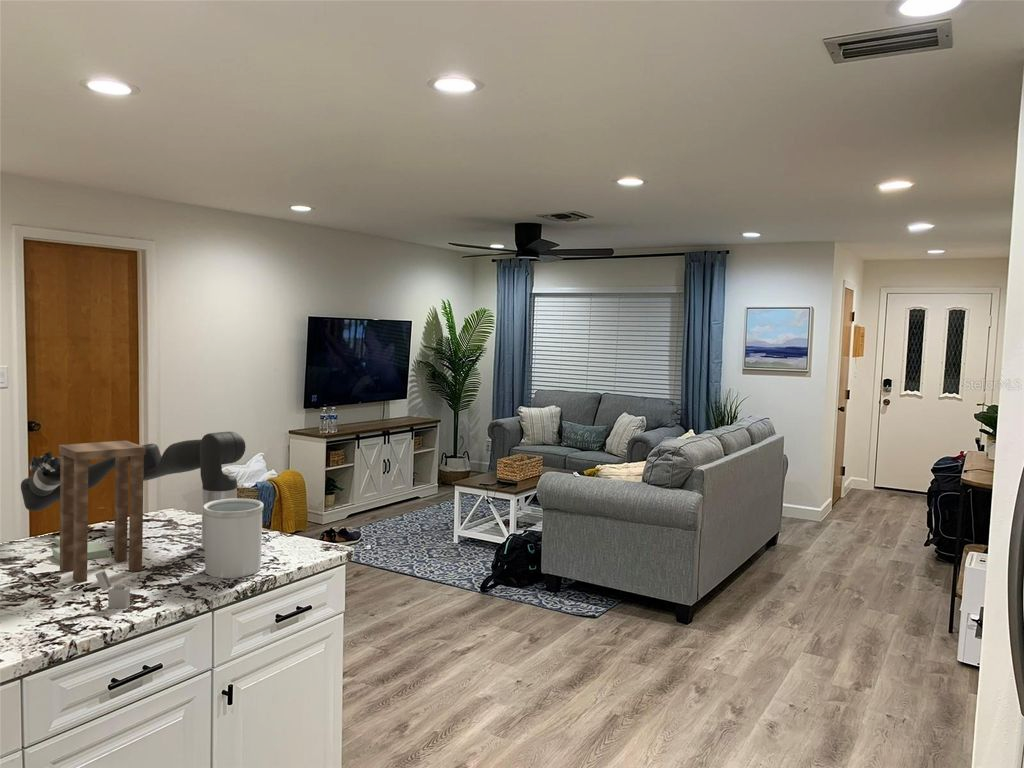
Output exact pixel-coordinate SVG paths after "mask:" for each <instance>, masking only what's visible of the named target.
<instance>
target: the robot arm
mask: <svg viewBox="0 0 1024 768" xmlns="http://www.w3.org/2000/svg"><path fill="white" fill-rule="evenodd" d="M141 446H144V447H146V453H145V455H144V475H143V482H144V481H149V480H150V481H151V480H154V479H158V478H160V477H164V476H168V475H172V474H173V475H175V474H180V473H181V474H182V473H185V472H186V473H187V472H191V471H194V470H195V471H196V470H199V469H200V470H199V471H200V479H201V483H202V484H201V486H202V487H201V489H202V491H201V493H202V494H201V495H202V496H201V498H202V499H201V539H200V540H201V546H200V547H201V550H203V551H205V549H204V512H203V506H204V505H205V504H206V503H208V502H211V501H216V500H222V499H234V498H237V497H238V495H237V494H238V493H237V492H238V490H237V489H238V480H237V477H236V476H232V475H229V474H225V473H224V472H223V468H222V466H223V465H229V464H235V463H237V462H239V461H240V460H241V459H242V457H243V456H244V454H245V453H246V442H245V439H244V438H243V436H242V435H240V434H239V433H237V432H235V431H219V432H218V431H217V432H211V433H210V432H209V433H206V434H205V435H203V437H202V438H201V439H189V440H182V441H178V442H174V443H172V444H169V446H168V447H167V448H166V449H164V451H163V453H162V455H161V452H160V447H159V446H158V444H156V443H148V444H143V445H141ZM91 460H92V459H90V460H88V490H90V489H93V488H94V487H96V486H97V485H98V484H99V483H101V481H102V480H103V479H105V477H107V476H108V474H109V473H110V472H111V471H113V470H115V457H114V458H103V459H101V460H99V461H97V462H95V463H93V464H89V463H91ZM128 463H130V456H128ZM28 465H29V471H30V473H31V474H33V476H29V477H27V478H24V479H23V480H22V481H21V483H20V491H21V494H22V495H21V496H22V499H23V504H24V507H25V508H26V510H28V511H30V512H39V511H42V510H45V509H47V508H48V507H50V506H52V505H54V504H55V503H57V502H58V501H59V502H60V456H52V451H51V450H48V451H47V452H44V454H43V455H41V456H40V457H39V458H38V456H33V458H32V459H31V461H30V462H29V464H28Z"/></svg>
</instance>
